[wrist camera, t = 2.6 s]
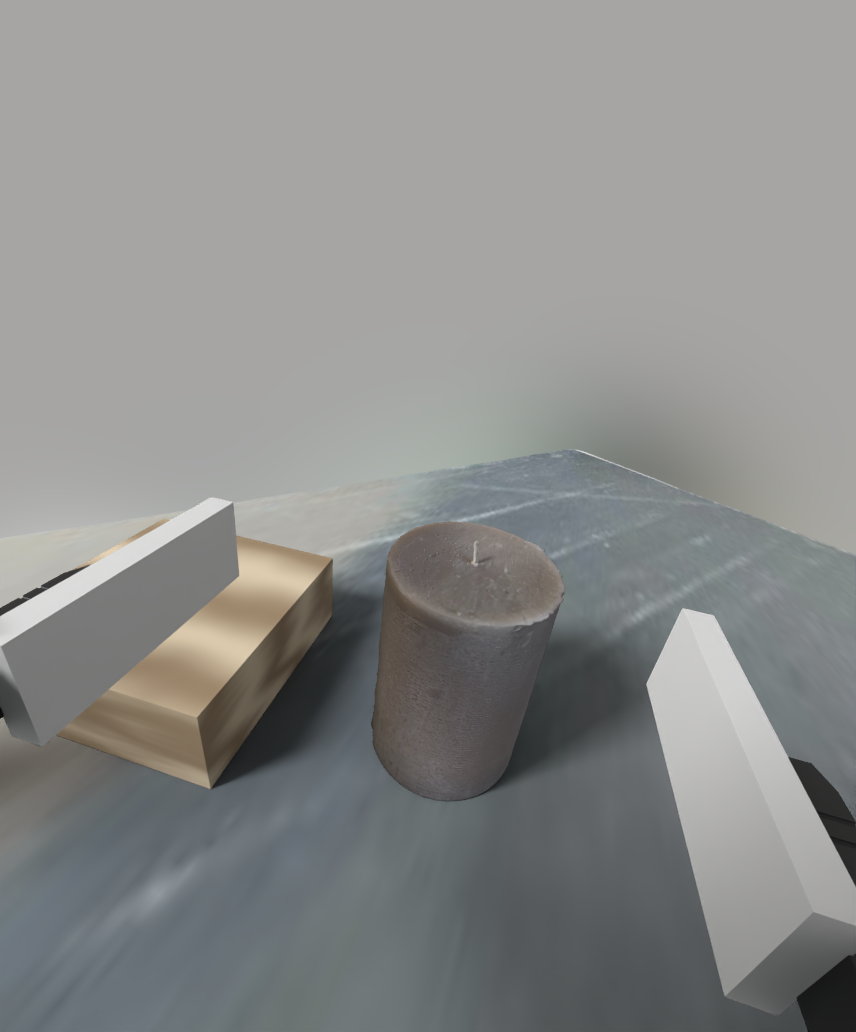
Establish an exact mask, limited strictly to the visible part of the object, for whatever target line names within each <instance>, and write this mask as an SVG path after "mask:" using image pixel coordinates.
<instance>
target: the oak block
mask: <svg viewBox="0 0 856 1032" xmlns="http://www.w3.org/2000/svg"><path fill="white" fill-rule="evenodd" d="M168 521H170V520H168V519H162V520H161V521H159V522H157V523H155V524H154V525H152V526H150V527H148V528H146V529H145V530H143V531H141V532H139V533H138V534H136V535H134V536H132V537H130V538H129V539H127V540H125V541H123V542H122V543H120V544H118V545H116V546H114V547H113V548H111V549H109V550H107V551H105V552H104V553H102V554H100V555H98V556H97V557H95V558H93V559H91V560H89V561H88V562H86V563H84V564H82V565H81V566H79V567H77V568H75V569H78V568H81V567H84V566H87V565H92V564H94V563H95V562H97V561H99V560H101V559H103V558H104V557H106V556H108V555H110V554H111V553H113V552H115V551H117V550H119V549H120V548H122V547H124V546H126V545H127V544H129V543H131V542H133V541H134V540H136V539H138V538H140V537H142V536H143V535H145V534H147V533H149V532H150V531H152V530H154V529H156V528H158V527H159V526H161V525H163V524H165V523H166V522H168ZM236 541H237V553H238V565H239V577H238V578H236V579H235V580H234V581H233V582H232V583H231V584H230V585H228V586H227V587H226V588H225V589H224V590H223V591H222V592H220V593H219V594H218V595H217V596H216V597H215V598H213V599H212V600H211V601H210V602H209V603H208V604H207V605H205V606H204V607H203V608H202V609H201V610H200V611H198V612H197V613H196V614H195V615H194V616H193V617H192V618H190V619H189V620H188V621H187V622H186V623H185V624H183V625H182V626H181V627H180V628H179V629H178V630H177V631H175V632H174V633H173V634H172V635H171V636H170V637H168V638H167V639H166V640H165V641H164V642H163V643H162V644H160V645H159V646H158V647H157V648H156V649H155V650H153V651H152V652H151V653H150V654H149V655H148V656H147V657H145V658H144V659H143V660H142V661H141V662H140V663H138V664H137V665H136V666H135V667H134V668H133V669H132V670H130V671H129V672H128V673H127V674H126V675H125V676H123V677H122V678H121V679H120V680H119V681H118V682H117V683H115V684H114V685H113V686H112V687H111V688H110V689H108V690H107V691H106V692H105V693H104V694H103V695H102V696H100V697H99V698H98V699H97V700H96V701H95V702H93V703H92V704H91V705H90V706H89V707H88V708H87V709H85V710H84V711H83V712H82V713H81V714H80V715H79V716H77V717H76V718H75V719H74V720H73V721H72V722H70V723H69V724H68V725H67V726H66V727H65V728H64V729H62V730H61V731H60V732H59V733H58V734H57V736H60V737H63V738H66V739H69V740H72V741H74V742H77V743H80V744H83V745H86V746H89V747H92V748H95V749H97V750H100V751H103V752H106V753H109V754H112V755H115V756H117V757H120V758H123V759H126V760H129V761H132V762H135V763H137V764H140V765H143V766H146V767H149V768H152V769H155V770H157V771H160V772H163V773H166V774H169V775H172V776H175V777H177V778H180V779H183V780H186V781H189V782H192V783H195V784H197V785H200V786H203V787H206V788H209V789H211V788H212V786H213V785H214V784H215V782H216V781H217V779H218V778H219V776H220V775H221V774H222V772H223V771H224V769H225V768H226V766H227V765H228V764H229V762H230V761H231V759H232V758H233V756H234V755H235V754H236V752H237V751H238V749H239V748H240V746H241V745H242V744H243V742H244V741H245V739H246V738H247V736H248V735H249V734H250V732H251V731H252V729H253V728H254V726H255V725H256V724H257V722H258V721H259V719H260V718H261V716H262V715H263V714H264V712H265V711H266V709H267V708H268V706H269V705H270V704H271V702H272V701H273V699H274V698H275V696H276V695H277V694H278V692H279V691H280V689H281V688H282V686H283V685H284V684H285V682H286V681H287V679H288V678H289V676H290V675H291V674H292V672H293V671H294V669H295V668H296V666H297V665H298V664H299V662H300V661H301V659H302V658H303V656H304V655H305V654H306V652H307V651H308V649H309V648H310V646H311V645H312V644H313V642H314V641H315V639H316V638H317V636H318V635H319V634H320V632H321V631H322V629H323V628H324V626H325V625H326V624H327V622H328V621H329V619H330V618H331V616H332V565H333V558H328V557H324V556H320V555H316V554H312V553H307V552H303V551H299V550H295V549H290V548H286V547H282V546H278V545H274V544H269V543H265V542H261V541H257V540H252V539H248V538H244V537H240V536H236ZM75 569H73V570H75Z"/></svg>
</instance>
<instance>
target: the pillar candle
mask: <svg viewBox="0 0 856 1032" xmlns="http://www.w3.org/2000/svg"><path fill="white" fill-rule="evenodd" d="M544 552H545V551H543V550H542V549H541V548H540V547H539V546H537V545H535V544H533V543H531V542H527V541H525V540H523V539H522V538H519V537H517V536H516V535H513V534H511V533H508V532H506V531H503V530H500V529H497V528H493V527H490V526H485V525H481V524H476V523H470V522H442V523H434V524H429V525H424V526H422V527H417V528H414V529H413V530H411V531H409V532H408V533H406V534H404V535H402V536H401V537H400V538H398V540H397V541H396V542H395V543H394V544H393V546H392V547H391V550H390V552H389V555H388V560H387V567H386V580H385V589H384V598H383V613H382V624H381V633H380V642H379V664H378V673H377V682H376V690H375V705H374V712H373V718H372V722H371V726H372V728H373V746H374V749H375V751H376V754H377V756H378V758H379V760H380V762H381V764H382V765H383V767H384V768H385V769H386V771H387V772H388V773H389V774H390V775H391V776H392V777H393V778H394V779H395V780H397V782H399V784H400V785H402V786H403V787H405V788H406V789H408V790H409V791H411V792H413V793H415V794H418V795H420V796H422V797H426V798H431V799H434V800H441V801H458V800H464V799H468V798H471V797H475V796H477V795H479V794H481V793H483V792H485V791H487V790H488V789H489V788H491V787H492V786H493V785H494V784H495V783H496V782H497V781H498V780H499V779H500V778H501V776H502V775H503V773H504V772H505V770H506V768H507V766H508V764H509V761H510V758H511V755H512V752H513V748H514V745H515V742H516V739H517V736H518V733H519V730H520V727H521V724H522V721H523V718H524V716H525V713H526V710H527V706H528V703H529V700H530V696H531V693H532V691H533V687H534V684H535V681H536V678H537V675H538V671H539V668H540V665H541V662H542V659H543V656H544V653H545V650H546V647H547V644H548V640H549V637H550V635H551V631H552V628H553V625H554V621H555V618H556V615H557V613H558V610H559V606H560V604H561V603H562V601H563V600H564V599H563V598H562V596H563V594H564V593H565V588H564V585H563V581H562V575H561V574H560V572H559V571H558V569H557V567H556V566H555V564H554V563H553V561H551V560H550V559H549V558H548V557H547V555H546V554H545V553H544Z"/></svg>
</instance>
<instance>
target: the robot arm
mask: <svg viewBox="0 0 856 1032" xmlns="http://www.w3.org/2000/svg"><path fill="white" fill-rule="evenodd" d="M238 577H239V565H238V553H237V541H236V529H235V518H234V506H233V502H230V501H225V500H221V499H217V498H213V497H211V498H209V499H207V500H205V501H204V502H202V503H200V504H198V505H197V506H195V507H193V508H191V509H189V510H188V511H186V512H184V513H182V514H181V515H179V516H177V517H175V518H173V519H172V520H170V521H168V522H166V523H165V524H163V525H161V526H159V527H158V528H156V529H154V530H152V531H150V532H149V533H147V534H145V535H143V536H142V537H140V538H138V539H136V540H134V541H133V542H131V543H129V544H127V545H126V546H124V547H122V548H120V549H119V550H117V551H115V552H113V553H111V554H110V555H108V556H106V557H104V558H103V559H101V560H99V561H97V562H95V563H94V564H92V565H87V566H84V567H81V568H78V569H75V570H72V571H69V572H66V573H63V574H61V575H59V576H58V577H56V578H54V579H52V580H50V581H49V582H47V583H45V584H43V585H41V588H36V589H34V590H32V591H30V592H29V593H27V594H25V595H23V598H22V599H20V598H18V599H16V600H14V601H12V602H10V603H8V604H7V605H5V606H3V607H1V608H0V718H2V717H4V719H5V721H6V724H7V726H8V728H9V730H10V733H11V735H12V736H13V737H16V738H19V739H22V740H24V741H27V742H30V743H32V744H35V745H38V746H41V747H43V746H44V745H45V744H46V743H47V742H49V741H50V740H51V739H52V738H53V737H54V736H55V735H57V734H58V733H59V732H60V731H61V730H62V729H64V728H65V727H66V726H67V725H68V724H69V723H70V722H72V721H73V720H74V719H75V718H76V717H77V716H79V715H80V714H81V713H82V712H83V711H84V710H85V709H87V708H88V707H89V706H90V705H91V704H92V703H93V702H95V701H96V700H97V699H98V698H99V697H100V696H102V695H103V694H104V693H105V692H106V691H107V690H108V689H110V688H111V687H112V686H113V685H114V684H115V683H117V682H118V681H119V680H120V679H121V678H122V677H123V676H125V675H126V674H127V673H128V672H129V671H130V670H132V669H133V668H134V667H135V666H136V665H137V664H138V663H140V662H141V661H142V660H143V659H144V658H145V657H147V656H148V655H149V654H150V653H151V652H152V651H153V650H155V649H156V648H157V647H158V646H159V645H160V644H162V643H163V642H164V641H165V640H166V639H167V638H168V637H170V636H171V635H172V634H173V633H174V632H175V631H177V630H178V629H179V628H180V627H181V626H182V625H183V624H185V623H186V622H187V621H188V620H189V619H190V618H192V617H193V616H194V615H195V614H196V613H197V612H198V611H200V610H201V609H202V608H203V607H204V606H205V605H207V604H208V603H209V602H210V601H211V600H212V599H213V598H215V597H216V596H217V595H218V594H219V593H220V592H222V591H223V590H224V589H225V588H226V587H227V586H228V585H230V584H231V583H232V582H233V581H234V580H235V579H236V578H238ZM647 688H648V692H649V696H650V700H651V704H652V708H653V712H654V716H655V720H656V724H657V728H658V732H659V736H660V740H661V744H662V748H663V752H664V756H665V760H666V764H667V768H668V772H669V776H670V780H671V784H672V788H673V792H674V796H675V800H676V804H677V808H678V812H679V816H680V820H681V824H682V828H683V832H684V836H685V840H686V844H687V848H688V852H689V856H690V860H691V864H692V868H693V872H694V876H695V880H696V884H697V888H698V892H699V896H700V900H701V904H702V908H703V912H704V916H705V920H706V924H707V928H708V932H709V936H710V940H711V944H712V948H713V952H714V956H715V960H716V964H717V968H718V972H719V976H720V980H721V984H722V988H723V992H724V996H725V997H726V998H729V999H732V1000H735V1001H737V1002H740V1003H743V1004H745V1005H748V1006H751V1007H754V1008H756V1009H759V1010H762V1011H765V1012H767V1013H770V1014H773V1015H776V1016H779V1015H780V1014H781V1013H782V1012H784V1011H785V1010H786V1009H787V1008H789V1007H790V1006H791V1005H792V1004H794V1003H795V1002H796V1001H798V1004H799V1007H800V1010H801V1012H802V1015H803V1018H804V1021H805V1024H806V1027H807V1029H808V1032H856V826H855V824H856V822H855V820H854V818H853V817H852V815H851V813H850V812H849V810H848V808H847V806H846V805H845V803H844V801H843V800H842V798H841V796H840V795H839V793H838V792H837V790H836V789H835V788H834V787H833V786H832V785H831V784H830V783H829V782H828V781H827V780H826V779H825V778H824V777H823V775H822V774H821V773H820V772H819V771H818V770H817V769H816V768H815V767H814V766H813V765H812V764H811V763H808V762H804V761H801V760H797V759H793V758H790V757H788V756H787V754H786V753H785V751H784V749H783V747H782V745H781V743H780V741H779V739H778V737H777V735H776V733H775V732H774V730H773V728H772V726H771V724H770V722H769V720H768V718H767V716H766V714H765V712H764V710H763V709H762V707H761V705H760V703H759V701H758V699H757V697H756V695H755V693H754V691H753V689H752V687H751V686H750V684H749V682H748V680H747V678H746V676H745V674H744V672H743V670H742V668H741V666H740V665H739V663H738V661H737V659H736V657H735V655H734V653H733V651H732V649H731V647H730V645H729V643H728V642H727V640H726V638H725V636H724V634H723V632H722V630H721V628H720V626H719V624H718V622H717V621H716V619H715V617H714V615H709V614H705V613H701V612H697V611H692V610H688V609H684V608H682V610H681V612H680V614H679V617H678V619H677V621H676V623H675V625H674V627H673V629H672V631H671V633H670V635H669V638H668V640H667V642H666V644H665V646H664V648H663V650H662V652H661V654H660V656H659V659H658V661H657V663H656V665H655V667H654V669H653V671H652V673H651V675H650V677H649V680H648V682H647Z"/></svg>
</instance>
